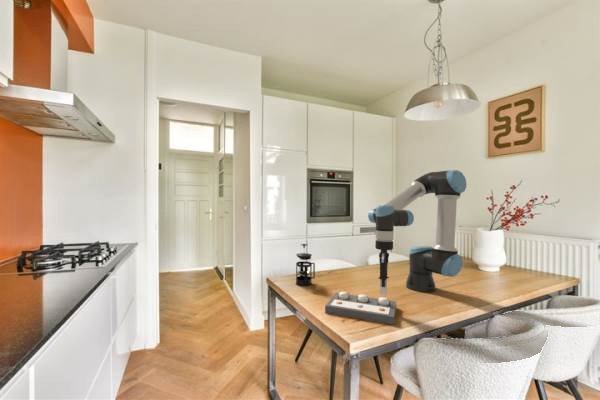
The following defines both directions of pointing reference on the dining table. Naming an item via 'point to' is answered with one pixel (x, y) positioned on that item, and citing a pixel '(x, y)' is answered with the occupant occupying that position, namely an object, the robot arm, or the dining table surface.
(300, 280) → the french press
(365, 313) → the button board
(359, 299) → the button middle
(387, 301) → the button
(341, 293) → the button
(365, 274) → the dining table surface
